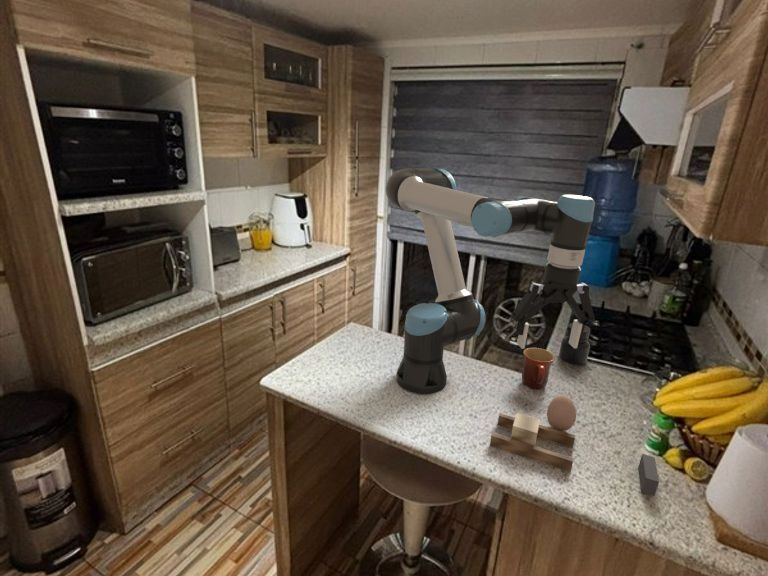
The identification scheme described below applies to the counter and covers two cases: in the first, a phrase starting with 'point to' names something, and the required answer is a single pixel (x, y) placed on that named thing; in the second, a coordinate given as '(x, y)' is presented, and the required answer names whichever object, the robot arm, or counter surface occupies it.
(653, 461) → the block
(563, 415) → the egg
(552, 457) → the chute
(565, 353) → the ink bottle
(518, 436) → the block
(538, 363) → the mug
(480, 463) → the counter surface
